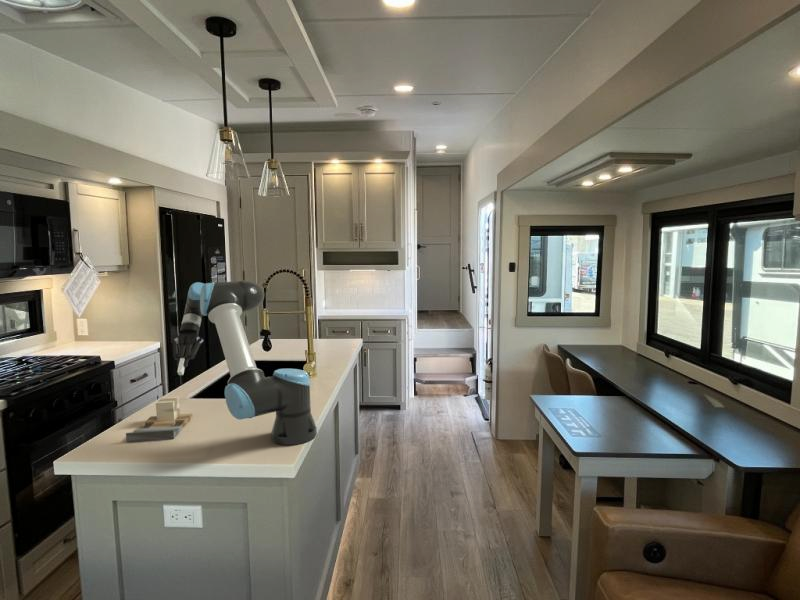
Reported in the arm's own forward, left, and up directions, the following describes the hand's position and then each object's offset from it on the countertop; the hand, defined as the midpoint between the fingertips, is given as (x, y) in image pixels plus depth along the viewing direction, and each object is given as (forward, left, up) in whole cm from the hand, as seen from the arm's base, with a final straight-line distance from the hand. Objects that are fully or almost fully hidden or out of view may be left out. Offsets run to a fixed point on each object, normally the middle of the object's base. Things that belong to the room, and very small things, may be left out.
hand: (180, 373), depth 182 cm
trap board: (-21, +6, -15) cm, 26 cm away
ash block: (-15, +4, -13) cm, 20 cm away
